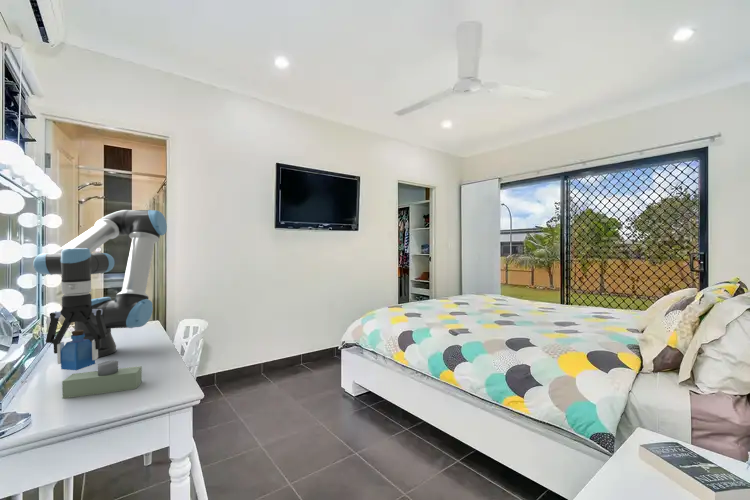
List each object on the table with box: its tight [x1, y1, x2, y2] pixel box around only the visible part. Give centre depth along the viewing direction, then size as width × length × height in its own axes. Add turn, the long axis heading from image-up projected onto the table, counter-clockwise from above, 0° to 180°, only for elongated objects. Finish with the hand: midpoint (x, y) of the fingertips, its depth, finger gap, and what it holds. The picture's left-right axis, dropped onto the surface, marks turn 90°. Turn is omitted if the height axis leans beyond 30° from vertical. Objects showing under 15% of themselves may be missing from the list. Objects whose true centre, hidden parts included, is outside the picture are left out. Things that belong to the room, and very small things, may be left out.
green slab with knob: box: [61, 360, 143, 399], centre depth 109 cm, size 15×18×8 cm
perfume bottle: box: [60, 330, 96, 371], centre depth 115 cm, size 6×6×12 cm
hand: (78, 360), depth 115 cm, fingers closed on perfume bottle, 8 cm apart
